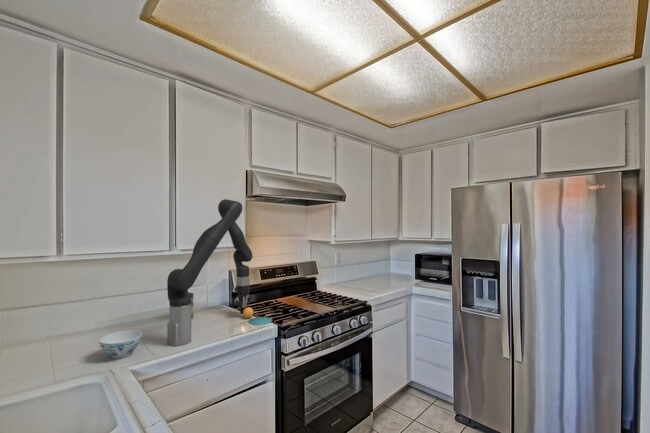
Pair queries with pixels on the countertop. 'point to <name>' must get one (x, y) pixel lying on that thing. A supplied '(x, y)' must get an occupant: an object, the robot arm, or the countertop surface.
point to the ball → (248, 312)
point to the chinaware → (120, 343)
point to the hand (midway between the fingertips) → (242, 313)
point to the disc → (260, 320)
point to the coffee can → (191, 304)
